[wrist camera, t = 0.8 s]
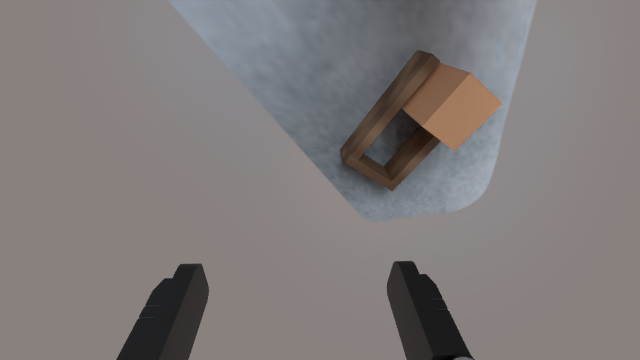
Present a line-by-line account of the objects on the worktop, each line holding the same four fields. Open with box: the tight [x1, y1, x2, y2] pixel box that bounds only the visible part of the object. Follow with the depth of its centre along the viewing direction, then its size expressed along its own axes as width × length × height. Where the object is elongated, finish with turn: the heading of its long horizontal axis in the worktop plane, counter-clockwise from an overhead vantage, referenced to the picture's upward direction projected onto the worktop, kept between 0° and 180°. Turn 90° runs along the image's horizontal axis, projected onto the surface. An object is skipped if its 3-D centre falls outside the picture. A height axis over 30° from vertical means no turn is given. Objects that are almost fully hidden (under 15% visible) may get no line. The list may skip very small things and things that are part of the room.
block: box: [402, 63, 502, 151], centre depth 29 cm, size 6×5×9 cm
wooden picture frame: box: [340, 50, 441, 191], centre depth 33 cm, size 15×8×4 cm, turn 146°
